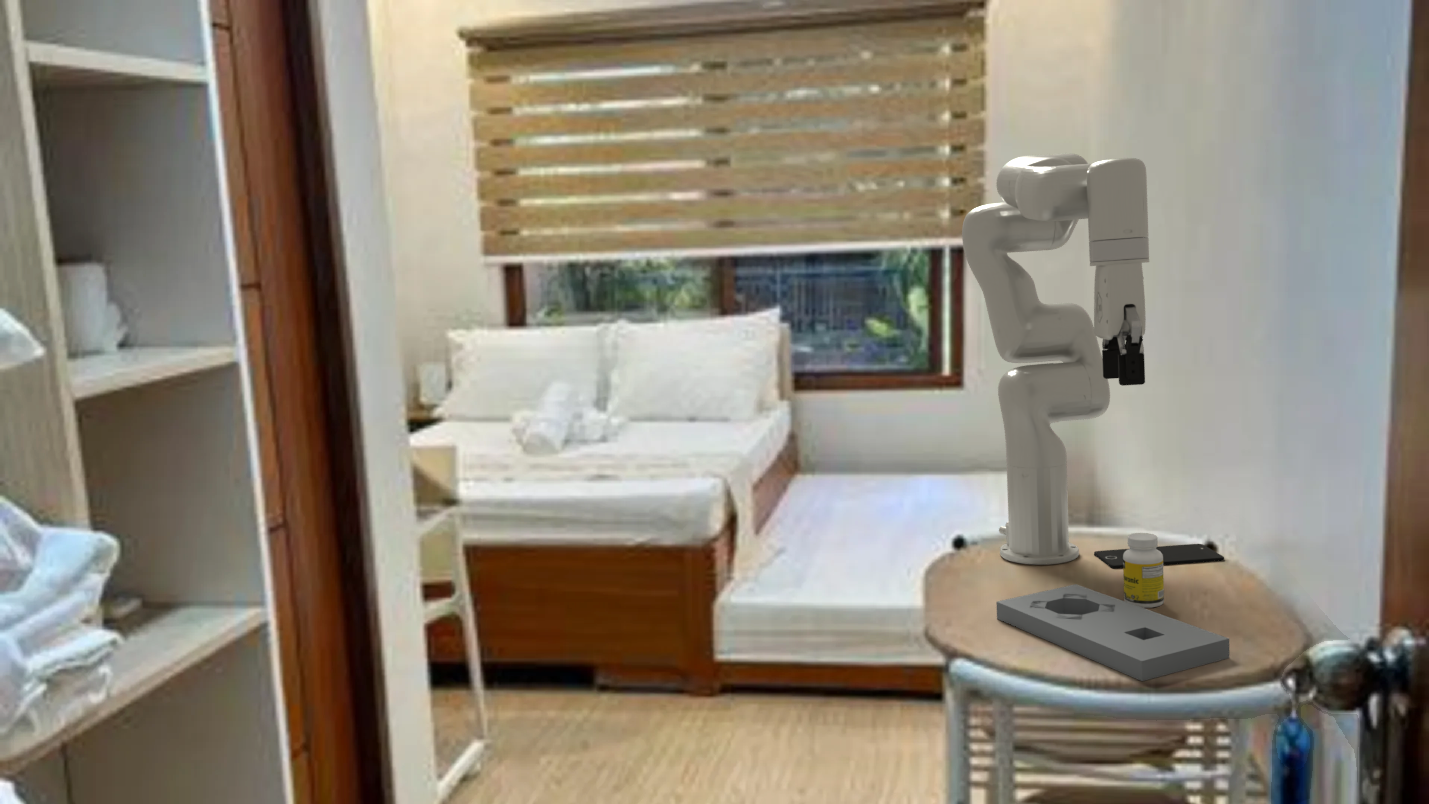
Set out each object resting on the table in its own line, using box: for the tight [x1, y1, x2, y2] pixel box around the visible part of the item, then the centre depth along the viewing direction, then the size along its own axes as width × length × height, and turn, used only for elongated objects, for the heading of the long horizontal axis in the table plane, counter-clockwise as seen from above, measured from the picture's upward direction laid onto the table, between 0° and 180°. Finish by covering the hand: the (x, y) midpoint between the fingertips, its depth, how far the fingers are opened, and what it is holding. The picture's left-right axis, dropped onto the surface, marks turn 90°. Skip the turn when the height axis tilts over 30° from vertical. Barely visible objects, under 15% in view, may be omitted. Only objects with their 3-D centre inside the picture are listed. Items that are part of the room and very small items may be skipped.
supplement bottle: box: [1122, 532, 1165, 609], centre depth 170 cm, size 5×5×10 cm
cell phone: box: [1093, 543, 1225, 570], centre depth 193 cm, size 9×18×1 cm, turn 92°
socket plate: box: [996, 584, 1230, 682], centre depth 158 cm, size 28×14×2 cm, turn 24°
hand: (1123, 381), depth 161 cm, fingers open, 9 cm apart
